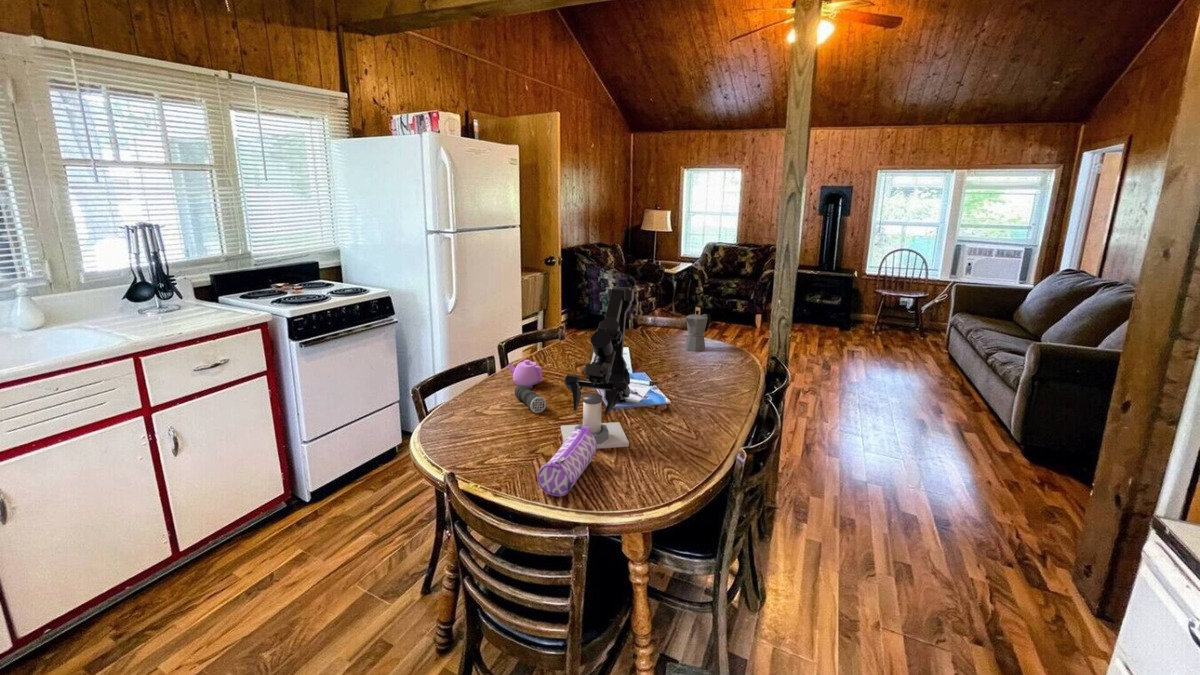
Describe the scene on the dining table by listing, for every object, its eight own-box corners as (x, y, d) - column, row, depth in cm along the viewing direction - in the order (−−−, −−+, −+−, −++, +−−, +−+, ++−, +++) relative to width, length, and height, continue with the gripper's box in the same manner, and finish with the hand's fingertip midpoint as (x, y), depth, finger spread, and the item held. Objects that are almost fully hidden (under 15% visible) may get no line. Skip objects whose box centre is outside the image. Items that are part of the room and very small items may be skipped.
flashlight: (513, 399, 189) (512, 384, 188) (527, 396, 192) (527, 381, 190) (531, 414, 176) (530, 398, 175) (546, 411, 179) (546, 395, 177)
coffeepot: (691, 353, 242) (694, 314, 237) (677, 348, 249) (679, 310, 245) (716, 348, 251) (718, 310, 246) (701, 343, 258) (703, 306, 253)
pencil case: (570, 503, 127) (570, 466, 125) (534, 496, 130) (533, 460, 127) (598, 459, 148) (599, 427, 145) (566, 454, 150) (566, 422, 148)
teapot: (535, 391, 195) (535, 366, 193) (500, 385, 201) (499, 361, 199) (550, 382, 205) (549, 358, 202) (516, 376, 210) (515, 353, 208)
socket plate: (619, 425, 168) (619, 414, 167) (628, 446, 155) (629, 434, 154) (560, 429, 165) (560, 418, 164) (565, 450, 152) (565, 438, 151)
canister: (594, 431, 161) (595, 391, 158) (604, 438, 157) (605, 398, 154) (578, 435, 159) (579, 395, 155) (588, 442, 154) (589, 401, 151)
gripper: (566, 347, 158) (551, 397, 151) (628, 354, 152) (616, 406, 145) (575, 365, 167) (562, 412, 160) (635, 372, 161) (623, 421, 154)
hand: (590, 413), depth 154 cm, fingers open, 9 cm apart
